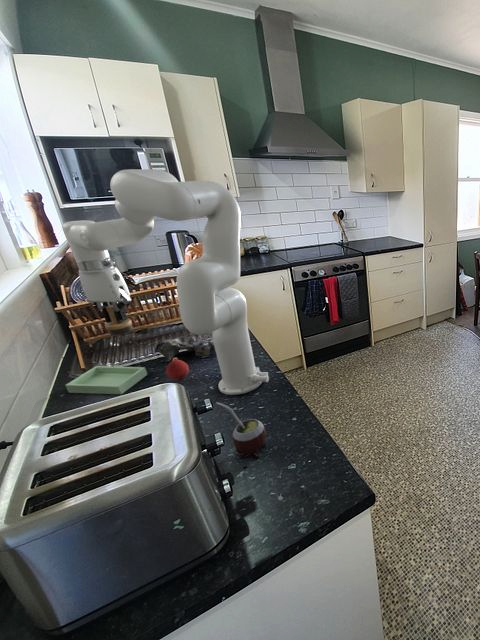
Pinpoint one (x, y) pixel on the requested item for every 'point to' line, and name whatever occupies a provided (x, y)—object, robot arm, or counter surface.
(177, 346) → the foil
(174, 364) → the onion
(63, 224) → the robot arm
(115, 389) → the tray
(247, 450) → the mate gourd
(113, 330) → the brush
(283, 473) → the counter surface
